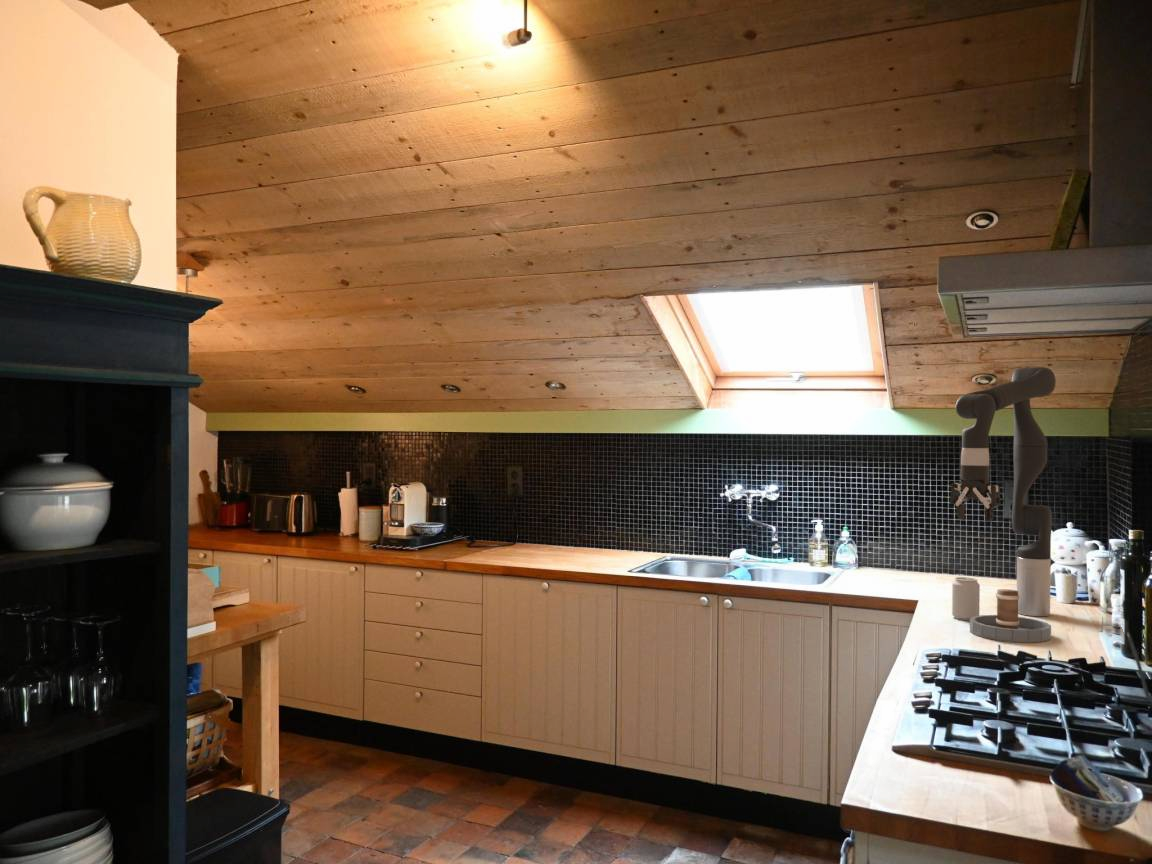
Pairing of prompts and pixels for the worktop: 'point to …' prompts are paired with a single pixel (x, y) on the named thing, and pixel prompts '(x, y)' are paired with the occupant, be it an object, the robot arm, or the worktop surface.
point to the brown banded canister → (1007, 608)
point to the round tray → (1011, 630)
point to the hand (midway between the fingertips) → (974, 520)
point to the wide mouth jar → (965, 598)
